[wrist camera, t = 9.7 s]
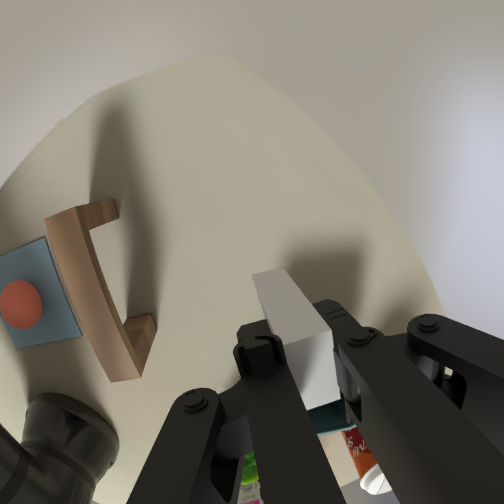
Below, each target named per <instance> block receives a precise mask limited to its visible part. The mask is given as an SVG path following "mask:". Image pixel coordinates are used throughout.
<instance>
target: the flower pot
mask: <svg viewBox="0 0 504 504" xmlns="http://www.w3.org/2000/svg"><path fill="white" fill-rule="evenodd" d="M339 390H340V388H339ZM307 412H308V414H309V417H310V419H311V421H312V424H313V426H314V429H315V431H316V433H317V436H320V435H325V434H330V433H335V432H339V431H344V430H349V429H352V428H355V427H356V425H355V423H354V421H353V420H352V418H351V417H350V419H351V423H349V424H347V419H346V408H345V398H344V395H343V393H342V391H341V390H340V399H338V400H336V401H333V402H330V403H327V404H324V405H321V406H318V407H315V408H312V409H309V410H307Z"/></svg>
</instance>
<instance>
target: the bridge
mask: <svg viewBox="0 0 504 504" xmlns="http://www.w3.org/2000/svg"><path fill="white" fill-rule="evenodd" d="M118 218H119V216H118V213H117V209H116V205H115V202H114V199H111V200H106V201H101V202H95V203H90V204H85V205H81V206H76V207H73V208H70V209H68V210H65V211H63V212H60V213H58V214H55V215H53V216H51V217H48V218H46V219H44V220H45V223H46V227H47V230H48V234H49V237H50V240H51V244H52V247H53V250H54V253H55V256H56V259H57V262H58V265H59V268H60V271H61V274H62V276H63V279H64V282H65V285H66V287H67V290H68V292H69V295H70V298H71V300H72V302H73V305H74V307H75V310H76V312H77V314H78V317H79V319H80V321H81V324H82V326H83V328H84V330H85V332H86V335H87V337H88V339H89V341H90V343H91V345H92V347H93V349H94V351H95V353H96V355H97V357H98V359H99V361H100V363H101V365H102V367H103V369H104V371H105V373H106V374H107V376H108V378H109V380H110V382H118V381H124V380H131V379H136V378H141V376H142V373H143V370H144V367H145V364H146V361H147V358H148V355H149V352H150V349H151V346H152V343H153V340H154V337H155V335H156V332H157V327H156V324H155V322H154V319H153V317H152V314H151V313H149V314H145V315H141V316H137V317H132V318H128V319H126V321H125V322H124V324H122V322H121V320H120V317H119V315H118V312H117V310H116V307H115V305H114V302H113V300H112V297H111V295H110V292H109V289H108V287H107V284H106V281H105V279H104V276H103V273H102V270H101V267H100V264H99V261H98V259H97V256H96V252H95V249H94V246H93V243H92V240H91V237H90V233H89V230H91V229H93V228H96V227H98V226H100V225H103V224H105V223H108V222H110V221H113V220H115V219H118Z"/></svg>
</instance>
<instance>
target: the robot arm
mask: <svg viewBox="0 0 504 504" xmlns="http://www.w3.org/2000/svg"><path fill="white" fill-rule="evenodd" d="M251 276H252V280H253V284H254V288H255V292H256V295H257V299H258V303H259V307H260V311H261V314H262V318H263V320H260V321H257V322H253V323H249V324H246V325H242V326H241V327H240V328H239V330H238V332H237V339H238V344H237V345H236V346H235V347H234V350H233V355H234V358H235V361H236V364H237V366H238V369H239V372H240V375H241V379H240V380H239V381H238V383H237V384H236V385H234V386H233V387H232V388H230V389H228V390H226V391H224V392H222V393H220V394H217V393H216V391H214V390H212V389H209V388H197V389H192V390H190V391H187V392H185V393H183V394H182V395H181V396H179V397H178V398H177V399H176V400H175V402H174V403H173V405H172V407H171V409H170V411H169V413H168V415H167V417H166V419H165V422H164V424H163V426H162V428H161V430H160V432H159V434H158V436H157V439H156V441H155V443H154V445H153V447H152V449H151V451H150V454H149V456H148V458H147V460H146V462H145V464H144V466H143V469H142V471H141V473H140V475H139V477H138V479H137V481H136V484H135V486H134V488H133V490H132V492H131V494H130V496H129V499H128V501H127V503H126V504H237V502H238V497H239V491H240V486H241V480H242V475H243V469H244V464H245V455H247V454H249V453H251V452H253V451H254V456H255V461H256V466H257V472H258V477H259V482H260V488H261V493H262V498H263V503H264V504H346V502H345V499H344V497H343V495H342V492H341V490H340V487H339V485H338V483H337V480H336V478H335V476H334V473H333V471H332V469H331V466H330V464H329V462H328V459H327V457H326V455H325V452H324V450H323V447H322V445H321V443H320V440H319V438H318V436H317V433H316V431H315V429H314V426H313V424H312V421H311V419H310V417H309V414H308V412H307V410H309V409H312V408H315V407H318V406H321V405H324V404H327V403H330V402H333V401H336V400H338V399H340V390H341V391H342V393H343V395H344V398H345V408H346V419H347V424H349V423H351V419H350V417H351V418H352V420H353V421H354V423H355V425H356V427H357V428H358V430H359V432H360V434H361V436H362V437H363V439H364V441H365V443H366V444H367V446H368V448H369V450H370V451H371V453H372V455H373V457H374V458H375V460H376V462H377V464H378V465H379V467H380V469H381V471H382V472H383V474H384V476H385V478H386V480H387V481H388V483H389V485H390V487H391V488H392V490H393V492H394V494H395V495H396V497H397V499H398V501H399V502H400V504H504V340H502V339H500V338H497V337H495V336H492V335H490V334H487V333H485V332H482V331H480V330H477V329H475V328H472V327H469V326H467V325H464V324H462V323H459V322H457V321H454V320H451V319H449V318H446V317H444V316H441V315H437V314H424V315H419V316H417V317H415V318H413V319H412V320H411V321H410V322H409V323H408V327H407V333H403V334H398V335H393V336H385V335H383V334H382V333H381V332H380V331H379V330H377V329H375V328H371V327H362V326H361V325H360V324H359V323H358V322H357V321H356V320H355V319H354V318H353V317H352V316H351V315H350V314H348V312H347V311H346V310H345V309H344V308H343V307H342V306H341V305H340V304H339V303H338V302H335V301H332V300H329V299H327V300H324V301H321V302H318V303H315V304H311V303H310V302H309V300H308V299H307V298H306V297H305V295H304V294H303V293H302V291H301V290H300V289H299V288H298V286H297V285H296V284H295V283H294V281H293V280H292V279H291V277H290V276H289V275H288V274H287V272H286V271H285V270H284V269H283V267H279V268H276V269H272V270H268V271H265V272H261V273H258V274H254V275H251ZM445 366H446V367H448V368H450V369H452V370H453V373H452V376H449V375H447V374H445ZM339 388H340V390H339ZM118 451H119V441H118V438H117V436H116V434H115V432H114V431H113V429H112V428H111V426H110V425H109V424H108V423H107V422H106V421H105V420H104V419H103V418H102V417H101V416H100V415H99V414H97V413H96V412H95V411H93V410H92V409H91V408H89V407H88V406H86V405H84V404H83V403H81V402H79V401H77V400H75V399H72V398H70V397H67V396H64V395H61V394H56V393H44V394H40V395H38V396H36V397H35V398H34V399H33V401H32V402H31V404H30V405H29V407H28V409H27V411H26V420H25V425H24V430H23V437H22V442H21V444H19V443H18V442H17V441H16V440H15V438H14V437H13V436H12V435H11V434H10V433H9V432H8V431H7V430H6V429H5V428H4V427H3V426H2V425H1V423H0V504H91V502H92V498H93V494H94V491H95V487H96V484H97V483H98V482H99V481H100V480H101V478H102V477H103V476H104V475H105V473H106V472H107V470H108V469H109V468H111V467H112V466H113V464H114V463H115V461H116V458H117V455H118Z"/></svg>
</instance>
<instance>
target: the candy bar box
mask: <svg viewBox="0 0 504 504" xmlns="http://www.w3.org/2000/svg"><path fill="white" fill-rule="evenodd" d="M237 504H264V503H263V498H262V493H261V488H260V482H259V479H258V480H257V481H256V482H253V483H251V484H248V485H241V486H240V491H239V497H238V502H237Z"/></svg>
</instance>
